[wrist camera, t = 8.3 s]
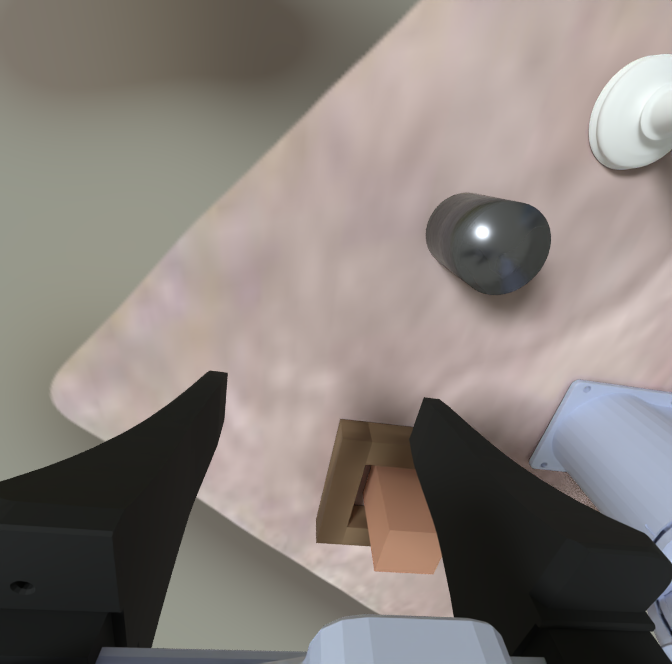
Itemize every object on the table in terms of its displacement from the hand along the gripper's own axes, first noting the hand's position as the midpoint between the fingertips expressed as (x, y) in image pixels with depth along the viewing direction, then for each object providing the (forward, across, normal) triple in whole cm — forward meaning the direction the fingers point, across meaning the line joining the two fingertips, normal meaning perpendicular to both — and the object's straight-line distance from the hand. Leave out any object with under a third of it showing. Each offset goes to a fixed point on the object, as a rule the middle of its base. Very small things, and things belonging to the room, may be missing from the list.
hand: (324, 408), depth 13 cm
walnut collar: (+9, -8, +13) cm, 18 cm away
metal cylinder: (+9, -7, -6) cm, 13 cm away
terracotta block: (+10, -8, +13) cm, 18 cm away
